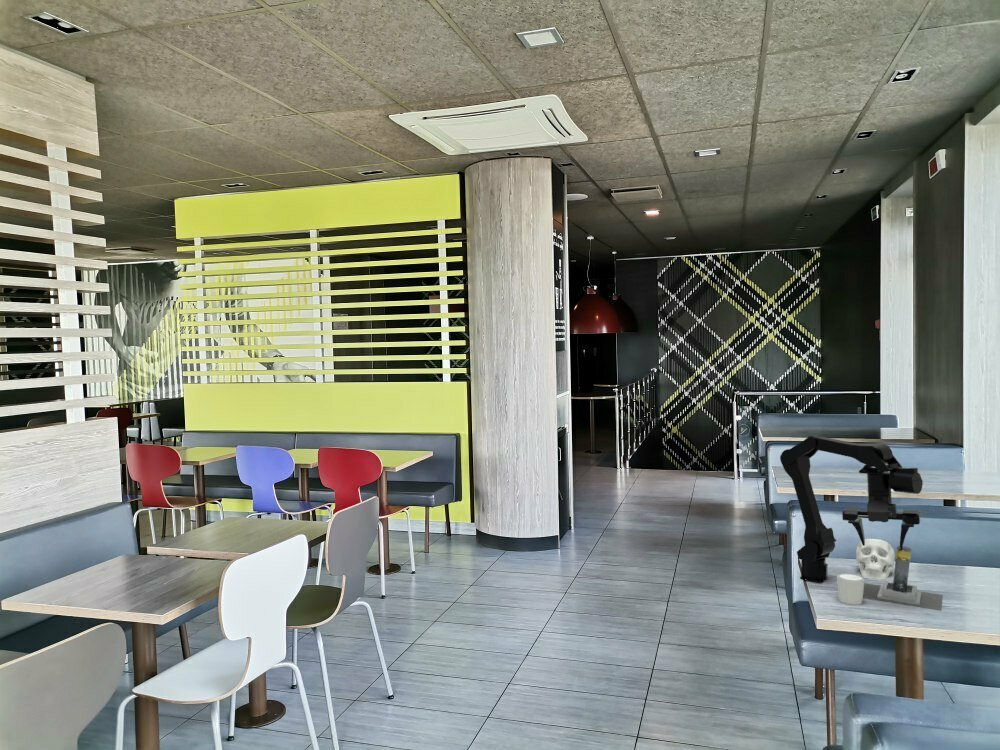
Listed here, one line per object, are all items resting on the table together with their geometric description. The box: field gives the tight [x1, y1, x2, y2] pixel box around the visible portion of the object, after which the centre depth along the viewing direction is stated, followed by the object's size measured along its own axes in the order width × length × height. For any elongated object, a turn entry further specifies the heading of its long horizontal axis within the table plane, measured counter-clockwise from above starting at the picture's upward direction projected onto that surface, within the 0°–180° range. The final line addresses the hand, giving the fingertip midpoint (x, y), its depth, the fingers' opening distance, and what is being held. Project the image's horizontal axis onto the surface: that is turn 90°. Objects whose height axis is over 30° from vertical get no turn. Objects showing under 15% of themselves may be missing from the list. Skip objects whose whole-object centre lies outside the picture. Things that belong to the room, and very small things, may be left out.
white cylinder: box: [836, 573, 866, 606], centre depth 197 cm, size 7×7×7 cm
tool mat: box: [863, 582, 944, 612], centre depth 201 cm, size 22×14×1 cm, turn 57°
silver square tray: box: [877, 581, 922, 606], centre depth 200 cm, size 10×10×3 cm
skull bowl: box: [855, 538, 896, 581], centre depth 221 cm, size 10×14×12 cm
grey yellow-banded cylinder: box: [892, 545, 912, 592], centre depth 199 cm, size 4×4×13 cm
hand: (882, 546), depth 200 cm, fingers open, 9 cm apart
